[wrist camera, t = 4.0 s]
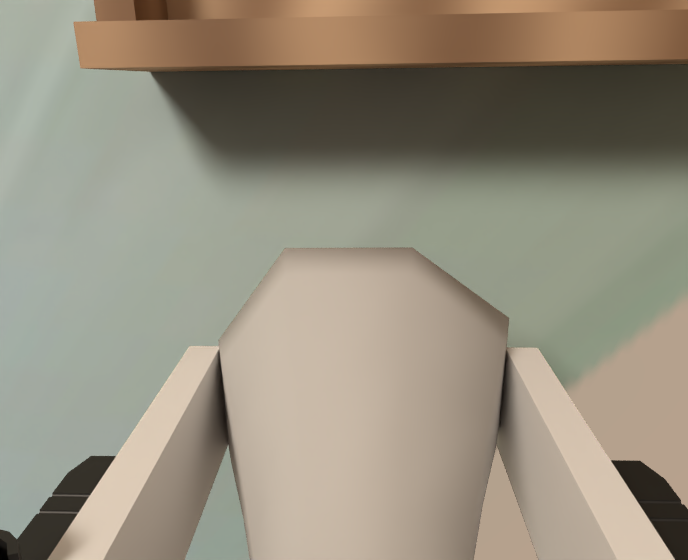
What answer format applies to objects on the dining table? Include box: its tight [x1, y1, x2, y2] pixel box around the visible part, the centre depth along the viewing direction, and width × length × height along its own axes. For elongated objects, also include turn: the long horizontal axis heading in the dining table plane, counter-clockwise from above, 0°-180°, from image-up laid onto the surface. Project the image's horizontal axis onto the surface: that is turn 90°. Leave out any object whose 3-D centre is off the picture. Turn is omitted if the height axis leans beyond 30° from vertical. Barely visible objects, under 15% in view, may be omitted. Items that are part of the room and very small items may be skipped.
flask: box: [218, 248, 509, 560], centre depth 9 cm, size 7×7×10 cm
